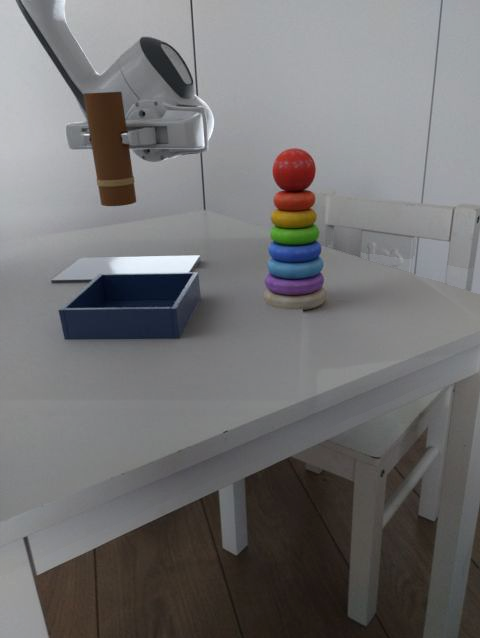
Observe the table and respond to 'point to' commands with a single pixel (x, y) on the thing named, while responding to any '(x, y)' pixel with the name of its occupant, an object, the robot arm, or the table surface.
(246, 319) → the table surface
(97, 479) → the table surface
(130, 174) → the rolled mat
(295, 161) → the stacking toy
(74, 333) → the tray
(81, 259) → the board
